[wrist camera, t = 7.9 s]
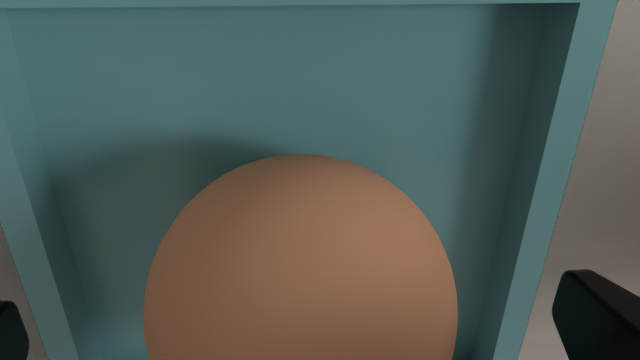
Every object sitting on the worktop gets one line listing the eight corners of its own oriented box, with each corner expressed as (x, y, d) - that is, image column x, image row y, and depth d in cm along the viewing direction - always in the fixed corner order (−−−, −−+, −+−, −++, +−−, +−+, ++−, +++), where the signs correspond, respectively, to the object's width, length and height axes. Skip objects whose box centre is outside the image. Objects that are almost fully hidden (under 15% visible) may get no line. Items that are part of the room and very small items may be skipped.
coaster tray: (577, -52, 9) (629, -40, 8) (482, 357, 14) (504, 405, 13) (-37, -51, 8) (-92, -38, 7) (94, 384, 13) (76, 438, 12)
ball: (454, 230, 11) (573, 443, 7) (275, 342, 13) (284, 585, 8) (318, 51, 9) (371, 206, 5) (114, 208, 10) (10, 446, 6)
